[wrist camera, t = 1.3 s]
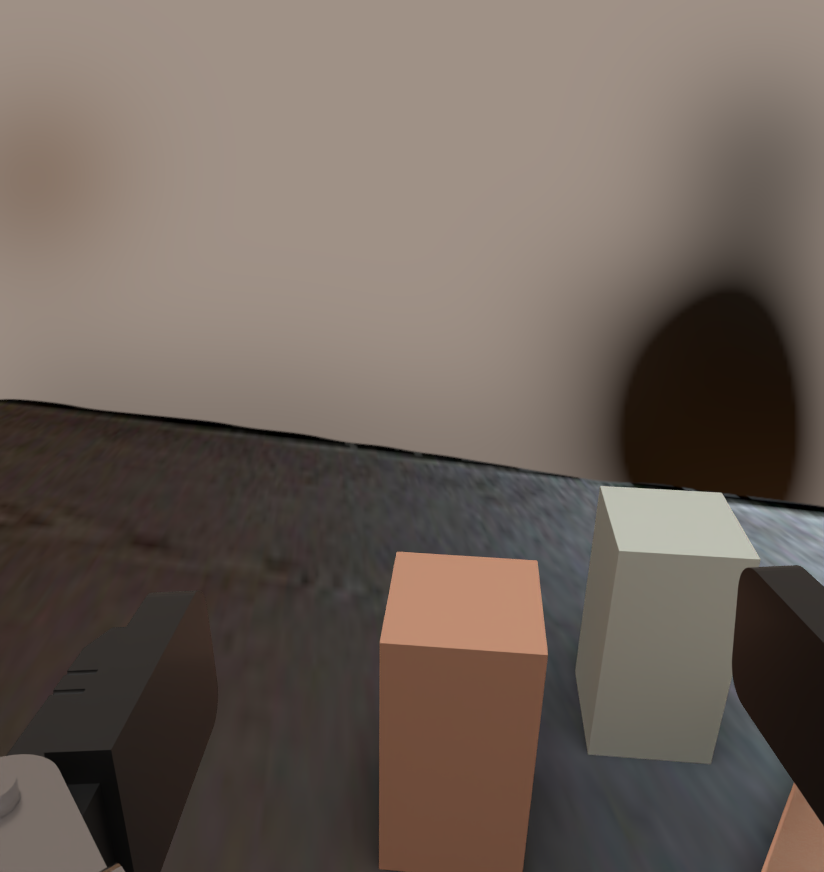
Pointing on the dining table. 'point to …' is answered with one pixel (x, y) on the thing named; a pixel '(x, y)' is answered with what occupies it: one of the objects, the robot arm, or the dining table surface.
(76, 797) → the robot arm
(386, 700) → the terracotta block
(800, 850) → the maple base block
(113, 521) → the dining table surface
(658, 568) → the sage block
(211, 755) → the dining table surface
